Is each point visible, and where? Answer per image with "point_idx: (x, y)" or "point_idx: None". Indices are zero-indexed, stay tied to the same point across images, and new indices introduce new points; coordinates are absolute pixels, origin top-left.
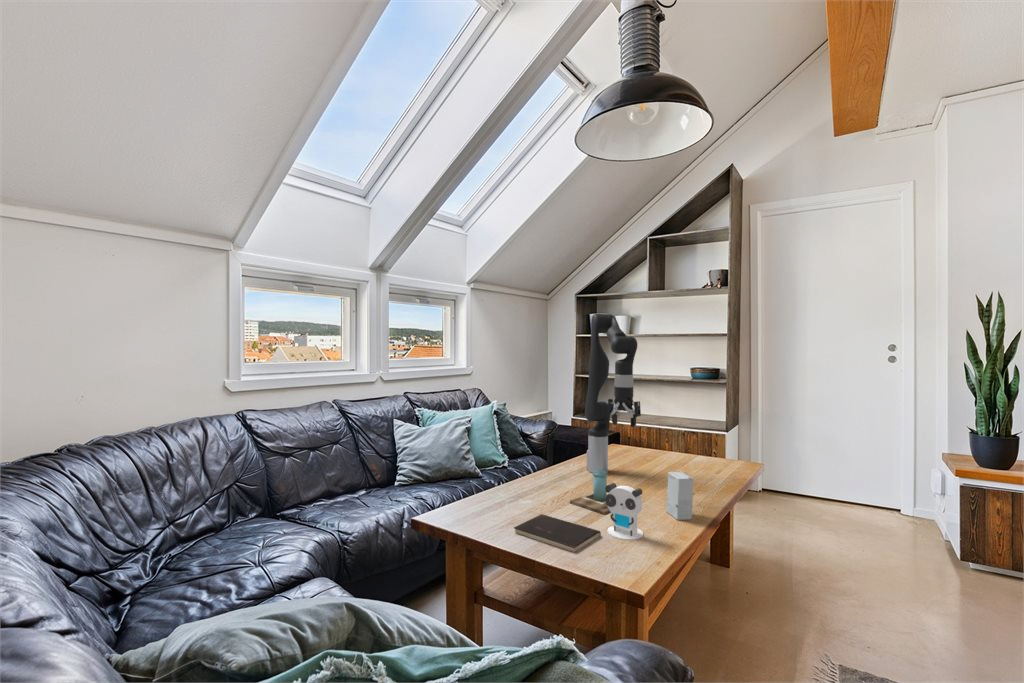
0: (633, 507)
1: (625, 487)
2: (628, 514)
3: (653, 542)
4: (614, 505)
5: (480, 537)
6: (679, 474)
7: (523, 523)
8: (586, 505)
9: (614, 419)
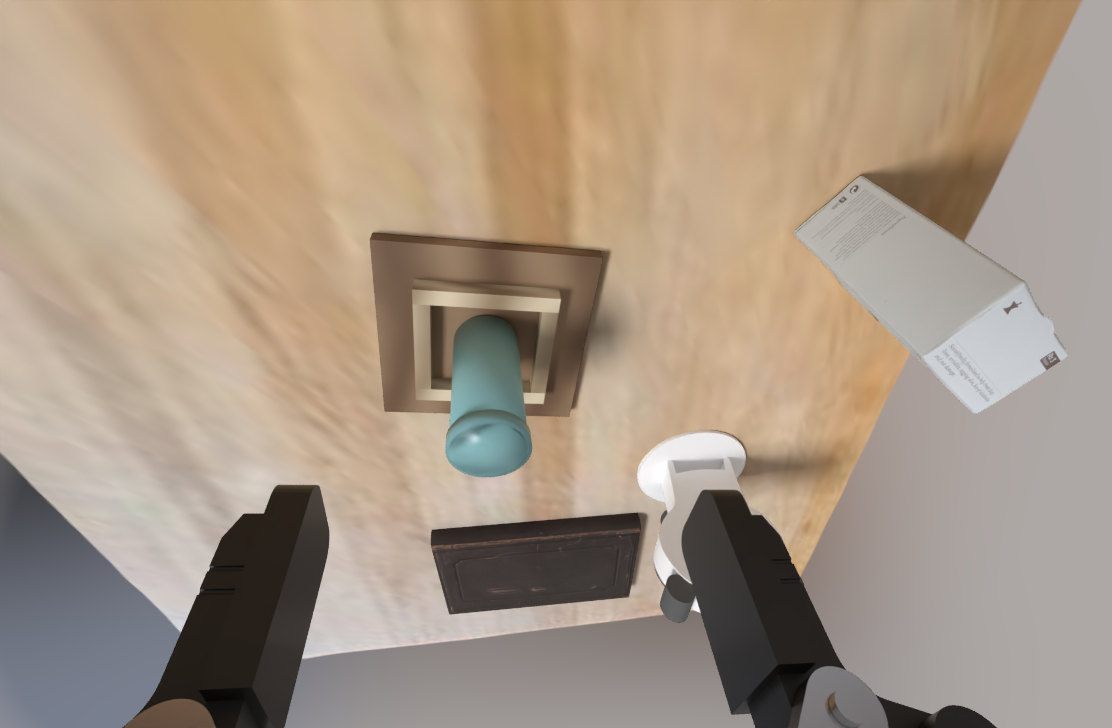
0: None
1: None
2: None
3: (781, 467)
4: None
5: (417, 639)
6: (995, 355)
7: (448, 596)
8: None
9: (303, 633)
